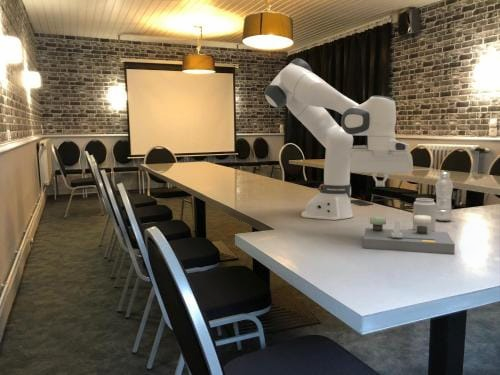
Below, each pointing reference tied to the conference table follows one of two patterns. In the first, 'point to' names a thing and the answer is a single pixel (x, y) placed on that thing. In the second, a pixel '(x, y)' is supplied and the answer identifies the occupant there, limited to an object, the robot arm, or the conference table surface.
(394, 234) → the paddle lever
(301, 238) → the conference table surface
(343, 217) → the robot arm
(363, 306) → the conference table surface
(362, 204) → the phone
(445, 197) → the plastic bottle
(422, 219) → the cream button
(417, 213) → the can
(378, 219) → the sage button
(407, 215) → the conference table surface
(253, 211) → the conference table surface
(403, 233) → the control panel
